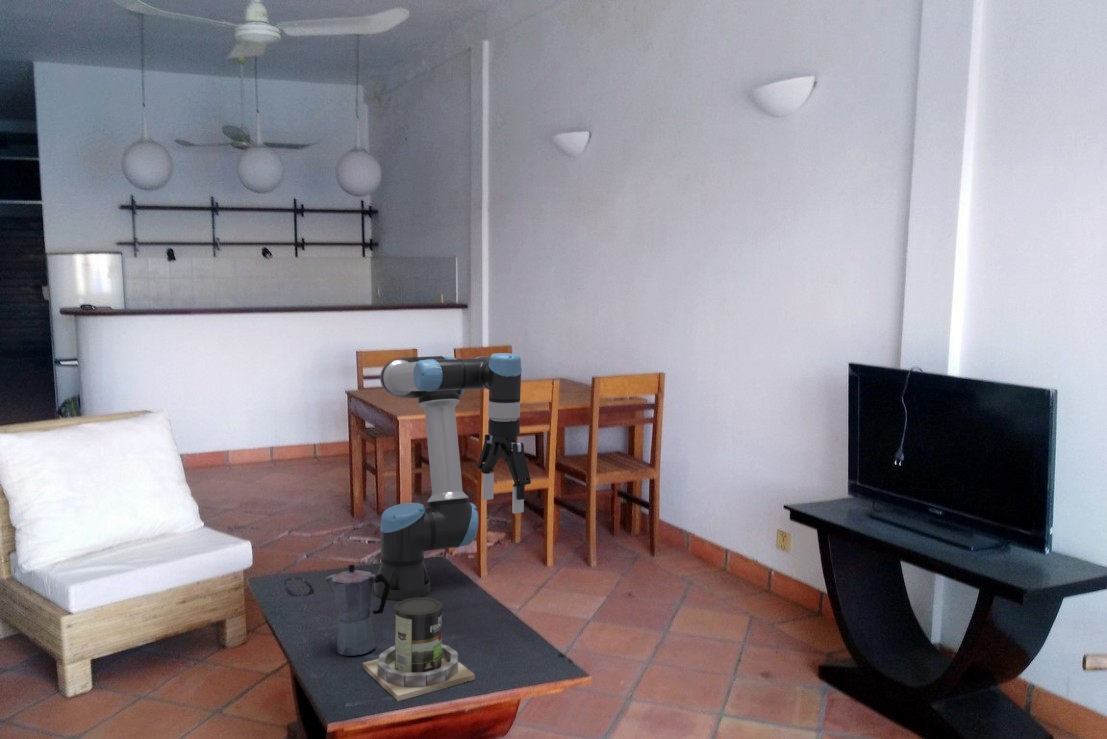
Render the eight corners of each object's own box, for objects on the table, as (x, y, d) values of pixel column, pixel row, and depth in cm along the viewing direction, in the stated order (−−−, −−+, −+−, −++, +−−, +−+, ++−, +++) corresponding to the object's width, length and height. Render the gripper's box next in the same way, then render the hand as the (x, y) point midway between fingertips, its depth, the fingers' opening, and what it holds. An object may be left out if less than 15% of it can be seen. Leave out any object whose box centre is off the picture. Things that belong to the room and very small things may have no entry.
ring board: (362, 668, 194) (362, 652, 194) (435, 649, 205) (436, 634, 204) (397, 701, 180) (398, 684, 179) (474, 679, 190) (475, 663, 190)
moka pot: (330, 639, 209) (330, 557, 207) (395, 641, 209) (395, 559, 207) (318, 656, 200) (317, 570, 197) (386, 658, 199) (386, 573, 197)
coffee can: (448, 660, 196) (448, 599, 195) (432, 681, 186) (433, 616, 185) (404, 655, 198) (404, 594, 197) (386, 675, 188) (386, 611, 187)
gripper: (547, 425, 202) (544, 516, 204) (490, 409, 222) (489, 492, 225) (519, 428, 198) (517, 520, 200) (464, 412, 218) (463, 496, 220)
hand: (502, 505), depth 212 cm, fingers open, 13 cm apart
